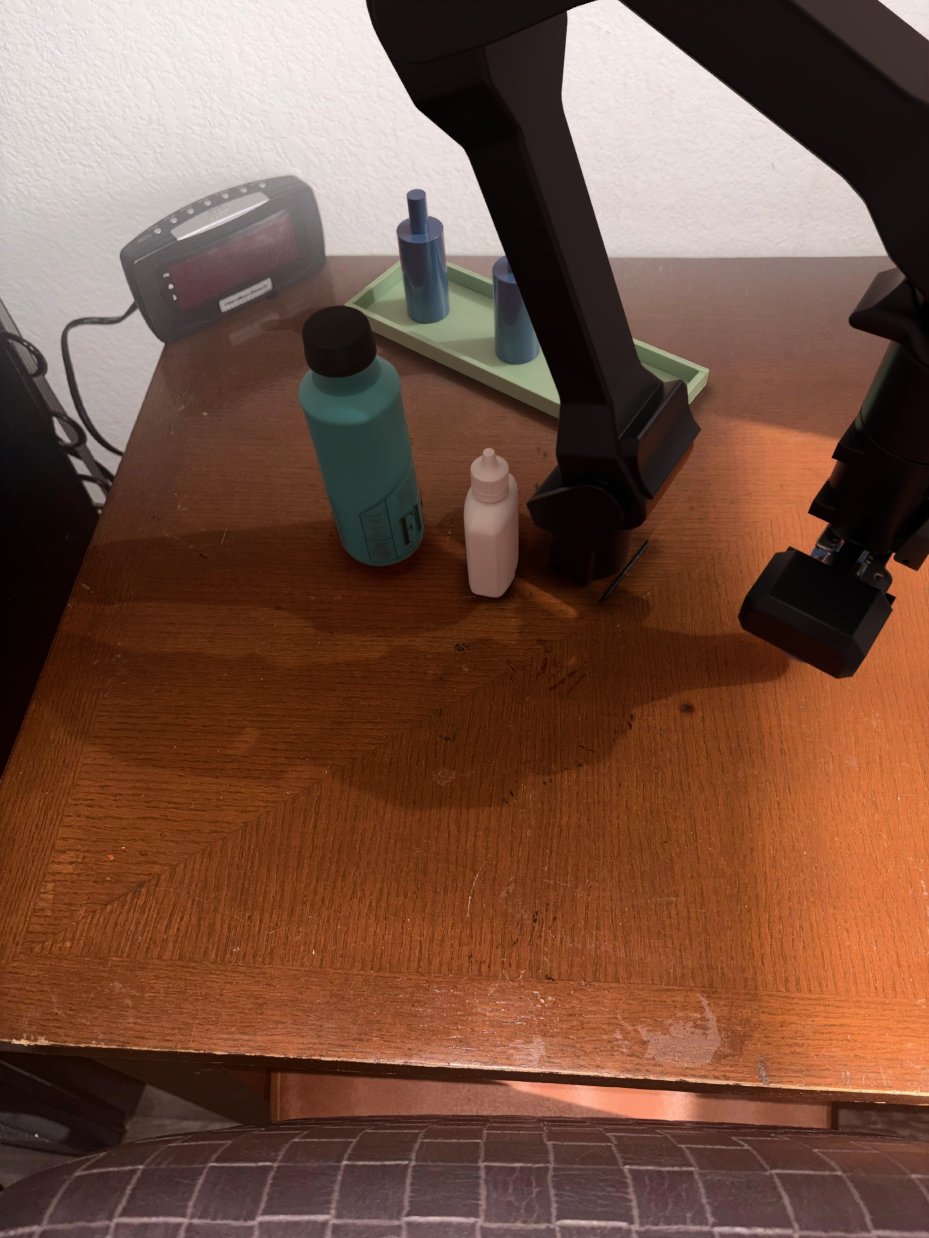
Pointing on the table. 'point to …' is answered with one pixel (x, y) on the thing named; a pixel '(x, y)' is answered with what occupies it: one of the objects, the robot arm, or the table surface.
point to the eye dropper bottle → (491, 525)
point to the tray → (488, 339)
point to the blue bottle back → (423, 262)
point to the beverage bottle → (360, 437)
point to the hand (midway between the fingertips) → (824, 608)
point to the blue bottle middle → (511, 318)
